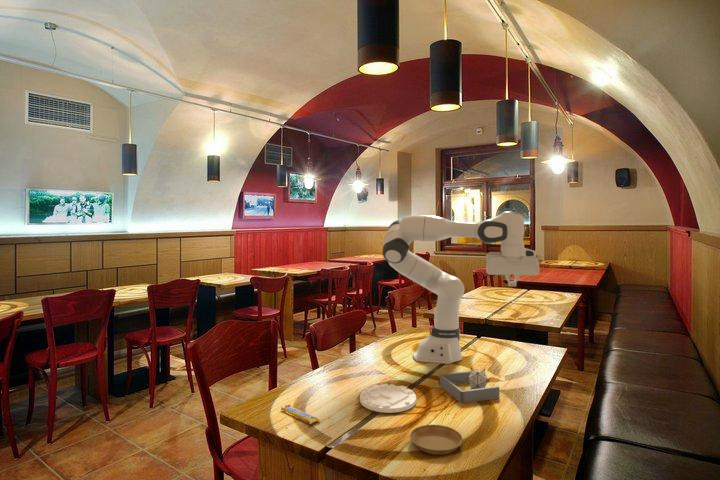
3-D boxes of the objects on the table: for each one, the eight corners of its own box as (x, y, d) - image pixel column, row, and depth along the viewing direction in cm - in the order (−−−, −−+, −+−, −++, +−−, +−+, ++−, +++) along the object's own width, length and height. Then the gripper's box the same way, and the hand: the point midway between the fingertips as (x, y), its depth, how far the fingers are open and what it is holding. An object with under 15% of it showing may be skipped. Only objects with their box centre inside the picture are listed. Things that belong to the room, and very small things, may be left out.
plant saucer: (404, 454, 120) (404, 444, 120) (416, 429, 134) (416, 421, 134) (459, 463, 115) (459, 454, 115) (465, 437, 129) (465, 428, 129)
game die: (481, 398, 165) (495, 376, 166) (480, 398, 157) (495, 375, 158) (460, 383, 169) (475, 361, 170) (459, 383, 161) (474, 360, 162)
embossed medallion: (377, 420, 141) (377, 411, 141) (350, 398, 159) (350, 390, 158) (427, 407, 150) (427, 398, 150) (397, 387, 168) (396, 380, 168)
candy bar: (279, 412, 148) (279, 406, 148) (289, 408, 151) (289, 402, 151) (311, 428, 136) (311, 422, 136) (321, 423, 139) (321, 417, 139)
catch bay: (473, 380, 174) (473, 370, 173) (499, 398, 156) (499, 387, 156) (438, 384, 169) (438, 374, 169) (461, 403, 152) (461, 391, 152)
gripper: (486, 252, 173) (486, 286, 174) (540, 252, 170) (540, 287, 171) (484, 251, 180) (484, 284, 180) (536, 251, 177) (536, 285, 177)
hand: (512, 286), depth 175 cm, fingers closed
